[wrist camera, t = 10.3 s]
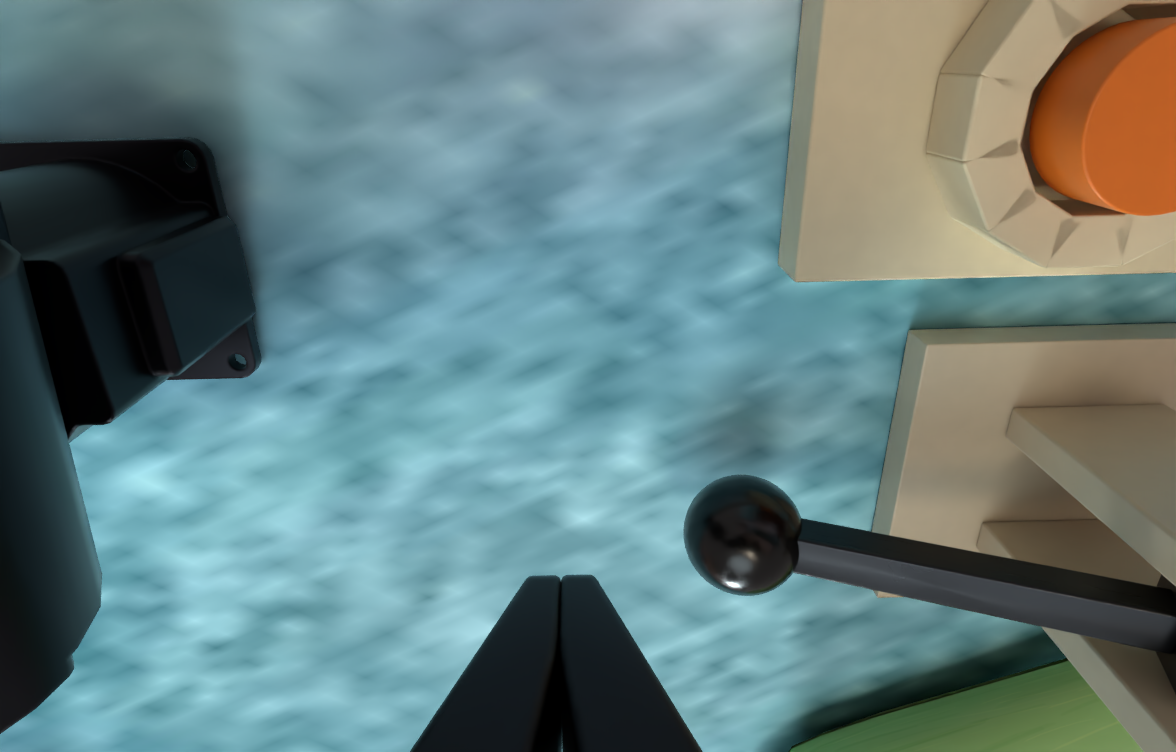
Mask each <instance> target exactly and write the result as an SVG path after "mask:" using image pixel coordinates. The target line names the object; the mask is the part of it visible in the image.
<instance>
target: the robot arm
mask: <svg viewBox="0 0 1176 752" xmlns="http://www.w3.org/2000/svg"><path fill="white" fill-rule="evenodd" d="M185 150H188V151H190V152H191V153H192V154H193V155H194V157H195V159H196V166H195V168H192V167H190V166H189V165H188V164H186V162H185V160H184V152H185ZM255 312H256V307H255V303H254V299H253V295H252V290H251V286H250V282H249V278H248V273H247V269H246V265H245V261H244V256H243V252H242V248H241V244H240V239H239V235H238V231H237V227H236V225H235V224H234V223H233V222H232V221H231V220H230V219H229V218H228V216H227V212H226V208H225V204H224V199H223V195H222V191H221V187H220V183H219V178H218V174H217V170H216V166H215V162H214V158H213V155H212V153H211V151H210V149H209V148H208V147H207V146H206V145H205V143H203V142H201V141H200V140H198V139H195V138H189V137H188V138H147V139H106V140H65V141H24V142H0V734H1V733H2V732H4V731H5V730H6V729H8V728H9V727H11V726H12V725H14V724H15V723H16V722H18V721H19V720H21V719H22V718H23V717H25V716H26V715H28V714H29V713H30V712H32V711H33V710H34V709H36V708H37V707H38V706H39V705H40V704H41V703H42V702H43V701H44V700H45V699H46V698H47V697H48V696H49V695H50V694H51V693H52V692H54V691H55V690H56V689H57V688H58V687H59V686H60V685H61V684H62V683H63V682H64V681H65V680H66V679H67V678H68V677H69V676H70V674H71V673H72V671H73V670H74V660H73V657H72V653H73V652H74V651H75V650H76V649H77V648H78V646H79V644H80V643H81V641H82V639H83V637H84V635H85V634H86V632H87V630H88V628H89V626H90V625H91V623H92V621H93V619H94V617H95V616H96V614H97V612H98V610H99V608H100V607H101V584H102V572H101V568H100V564H99V561H98V557H97V553H96V549H95V545H94V541H93V537H92V533H91V529H90V525H89V521H88V517H87V513H86V509H85V505H84V501H83V497H82V493H81V489H80V485H79V481H78V477H77V473H76V469H75V465H74V461H73V457H72V453H71V449H70V445H69V443H70V442H71V441H72V440H74V439H75V438H76V437H78V436H79V435H80V434H82V433H83V432H84V431H86V430H87V429H88V428H90V427H91V426H92V425H104V424H108V423H111V422H112V421H113V420H114V419H116V418H117V417H118V416H120V415H121V414H122V413H124V412H125V411H126V410H127V409H129V408H130V407H131V406H133V405H134V404H135V403H137V402H138V401H139V400H140V399H142V398H143V397H144V396H146V395H147V394H148V393H149V392H151V391H152V390H153V389H155V388H156V387H157V386H159V385H160V384H161V383H162V382H164V381H165V380H181V379H220V378H244V377H248V376H249V375H251V374H252V373H253V372H254V371H255V370H256V369H257V368H258V367H259V365H260V363H261V354H260V350H259V346H258V342H257V337H256V333H255V329H254V325H253V321H252V316H253V315H254V313H255ZM235 354H240V355H241V356H243V357H244V358H245V360H246V365H245V364H241V363H239V362H238V361H237V360H236V358H235ZM562 749H563V752H702V750H701V748H700V747H699V745H698V743H697V742H696V740H695V739H694V737H693V735H692V734H691V732H690V730H689V729H688V727H687V725H686V724H685V722H684V721H683V719H682V717H681V716H680V714H679V712H678V711H677V709H676V708H675V706H674V704H673V703H672V701H671V699H670V698H669V696H668V695H667V693H666V691H665V690H664V688H663V686H662V685H661V683H660V682H659V680H658V678H657V677H656V675H655V673H654V672H653V670H652V669H651V667H650V665H649V664H648V662H647V660H646V659H645V657H644V656H643V654H642V652H641V651H640V649H639V647H638V646H637V644H636V642H635V641H634V639H633V638H632V636H631V634H630V633H629V631H628V629H627V628H626V626H625V625H624V623H623V621H622V620H621V618H620V616H619V615H618V613H617V612H616V610H615V608H614V607H613V605H612V603H611V602H610V600H609V599H608V597H607V595H606V594H605V592H604V590H603V589H602V587H601V586H600V584H599V582H598V581H597V579H596V578H595V577H594V576H592V575H565V576H564V577H563V578H562V580H560V578H559V577H558V576H556V575H547V576H530V577H528V578H527V579H526V580H525V581H524V583H523V584H522V586H521V587H520V589H519V590H518V592H517V593H516V595H515V596H514V598H513V599H512V601H511V602H510V604H509V605H508V607H507V608H506V610H505V611H504V613H503V614H502V616H501V617H500V618H499V620H498V621H497V623H496V624H495V626H494V627H493V629H492V630H491V632H490V633H489V635H488V636H487V638H486V639H485V641H484V642H483V644H482V645H481V647H480V648H479V650H478V651H477V653H476V654H475V656H474V657H473V659H472V660H471V662H470V663H469V665H468V666H467V668H466V669H465V671H464V672H463V674H462V675H461V676H460V678H459V679H458V681H457V682H456V684H455V685H454V687H453V688H452V690H451V691H450V693H449V694H448V696H447V697H446V699H445V700H444V702H443V703H442V705H441V706H440V708H439V709H438V711H437V712H436V714H435V715H434V717H433V718H432V720H431V721H430V723H429V724H428V726H427V727H426V729H425V730H424V732H423V733H422V735H421V736H420V737H419V739H418V740H417V742H416V743H415V745H414V746H413V748H412V749H411V751H410V752H562Z"/></svg>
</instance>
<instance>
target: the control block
mask: <svg viewBox="0 0 1176 752" xmlns="http://www.w3.org/2000/svg"><path fill="white" fill-rule="evenodd" d="M1166 17H1176V0H803V4H802V15H801V25H800V36H799V46H798V57H797V67H796V78H795V88H794V99H793V109H792V120H791V130H790V141H789V152H788V162H787V173H786V183H785V194H784V204H783V215H782V225H781V236H780V246H779V257H778V265H779V266H780V267H781V268H782V269H783V270H784V271H785V272H786V273H787V274H788V275H789V276H790V277H791V278H792V279H793V280H794V281H795V282H825V281H865V280H905V279H945V278H985V277H1025V276H1065V275H1105V274H1145V273H1176V211H1175V212H1171V213H1167V214H1162V215H1153V216H1136V215H1131V214H1126V213H1122V212H1119V211H1115V210H1111V209H1108V208H1104V207H1101V206H1097V205H1093V204H1090V203H1086V202H1083V201H1079V200H1075V199H1072V198H1069V197H1066V196H1064V195H1062V194H1060V193H1058V192H1056V191H1055V190H1053V189H1052V188H1051V187H1050V186H1048V185H1047V183H1046V182H1045V181H1044V180H1043V179H1042V178H1041V176H1040V175H1039V173H1038V171H1037V170H1036V167H1035V165H1034V162H1033V160H1032V156H1031V152H1030V143H1029V133H1030V124H1031V118H1032V114H1033V110H1034V107H1035V104H1036V102H1037V99H1038V97H1039V94H1040V92H1041V90H1042V89H1043V87H1044V85H1045V83H1046V81H1047V80H1048V78H1049V77H1050V75H1051V74H1052V72H1053V71H1054V70H1055V68H1056V67H1057V66H1058V65H1059V64H1060V62H1061V61H1062V60H1063V59H1064V58H1065V57H1066V56H1067V55H1068V54H1069V53H1070V52H1071V51H1072V50H1073V49H1075V48H1076V47H1077V46H1078V45H1080V44H1081V43H1082V42H1083V41H1085V40H1086V39H1088V38H1089V37H1091V36H1093V35H1094V34H1096V33H1098V32H1100V31H1102V30H1104V29H1106V28H1108V27H1110V26H1113V25H1116V24H1119V23H1122V22H1127V21H1131V20H1140V19H1152V18H1166Z"/></svg>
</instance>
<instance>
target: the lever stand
mask: <svg viewBox="0 0 1176 752" xmlns="http://www.w3.org/2000/svg"><path fill="white" fill-rule="evenodd" d="M872 532H875V533H880V534H886V535H891V536H896V537H901V538H906V539H912V540H917V541H922V542H927V543H933V544H938V545H943V546H948V547H953V548H959V549H964V550H969V551H974V552H980V553H985V554H990V555H995V556H1001V557H1006V558H1011V559H1016V560H1021V561H1027V562H1032V563H1037V564H1042V565H1048V566H1053V567H1058V568H1063V569H1069V570H1074V571H1079V572H1084V573H1089V574H1095V575H1100V576H1105V577H1110V578H1116V579H1121V580H1126V581H1131V582H1136V583H1142V584H1147V585H1152V586H1157V584H1158V581H1159V579H1160V576H1161V574H1162V575H1163V576H1164V577H1165V578H1167V579H1168V580H1169V581H1170V582H1171V583H1172V584H1173V585H1175V586H1176V323H1158V324H1119V325H1079V326H1039V327H999V328H960V329H920V330H909V331H908V336H907V342H906V347H905V353H904V358H903V364H902V369H901V374H900V380H899V385H898V391H897V396H896V402H895V407H894V413H893V418H892V423H891V429H890V434H889V440H888V445H887V451H886V456H885V462H884V467H883V472H882V478H881V483H880V489H879V494H878V500H877V505H876V511H875V516H874V521H873V527H872ZM873 591H874V593H875V594H876V596H877V597H878V598H884V597H903V596H899V595H894V594H889V593H885V592H880V591H876V590H873ZM1042 628H1043V629H1044V631H1045V632H1046V633H1047V634H1048V635H1049V637H1050V638H1051V639H1052V640H1053V642H1054V643H1055V644H1056V645H1057V646H1058V648H1059V649H1060V650H1061V651H1062V653H1063V654H1064V655H1065V656H1066V657H1067V659H1068V660H1069V661H1070V662H1071V664H1072V665H1073V666H1074V667H1075V668H1076V670H1077V671H1078V672H1079V673H1080V675H1081V676H1082V677H1083V678H1084V679H1085V681H1086V682H1087V683H1088V684H1089V686H1090V687H1091V688H1092V689H1093V690H1094V692H1095V693H1096V694H1097V695H1098V697H1099V698H1100V699H1101V700H1102V701H1103V703H1104V704H1105V705H1106V706H1107V708H1108V709H1109V710H1110V711H1111V712H1112V714H1113V715H1114V716H1115V717H1116V718H1117V720H1118V721H1119V722H1120V723H1121V725H1122V726H1123V727H1124V728H1125V729H1126V731H1127V732H1128V733H1129V734H1130V736H1131V737H1132V738H1133V739H1134V740H1135V742H1136V743H1137V744H1138V745H1139V747H1140V748H1141V749H1142V750H1143V751H1144V752H1176V694H1175V692H1174V690H1173V688H1172V686H1171V684H1170V682H1169V679H1168V677H1167V675H1166V673H1165V671H1164V669H1163V667H1162V664H1161V662H1160V660H1159V658H1158V656H1157V654H1156V652H1155V651H1152V650H1147V649H1142V648H1138V647H1133V646H1129V645H1124V644H1119V643H1115V642H1110V641H1106V640H1101V639H1096V638H1092V637H1087V636H1083V635H1078V634H1073V633H1069V632H1064V631H1060V630H1055V629H1050V628H1046V627H1042Z"/></svg>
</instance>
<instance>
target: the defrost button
mask: <svg viewBox="0 0 1176 752" xmlns="http://www.w3.org/2000/svg"><path fill="white" fill-rule="evenodd" d="M1029 143H1030V152H1031V156H1032V160H1033V162H1034V165H1035V167H1036V170H1037V171H1038V173H1039V175H1040V176H1041V178H1042V179H1043V180H1044V181H1045V182H1046V183H1047V185H1048V186H1050V187H1051V188H1052V189H1053V190H1055V191H1056V192H1058V193H1060V194H1062V195H1064V196H1066V197H1069V198H1072V199H1075V200H1079V201H1083V202H1086V203H1090V204H1093V205H1097V206H1101V207H1104V208H1108V209H1111V210H1115V211H1119V212H1122V213H1126V214H1131V215H1136V216H1153V215H1162V214H1167V213H1171V212H1175V211H1176V17H1166V18H1152V19H1140V20H1131V21H1127V22H1122V23H1119V24H1116V25H1113V26H1110V27H1108V28H1106V29H1104V30H1102V31H1100V32H1098V33H1096V34H1094V35H1093V36H1091V37H1089V38H1088V39H1086V40H1085V41H1083V42H1082V43H1081V44H1080V45H1078V46H1077V47H1076V48H1075V49H1073V50H1072V51H1071V52H1070V53H1069V54H1068V55H1067V56H1066V57H1065V58H1064V59H1063V60H1062V61H1061V62H1060V64H1059V65H1058V66H1057V67H1056V68H1055V70H1054V71H1053V72H1052V74H1051V75H1050V77H1049V78H1048V80H1047V81H1046V83H1045V85H1044V87H1043V89H1042V90H1041V92H1040V94H1039V97H1038V99H1037V102H1036V104H1035V107H1034V110H1033V114H1032V118H1031V124H1030V133H1029Z"/></svg>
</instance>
